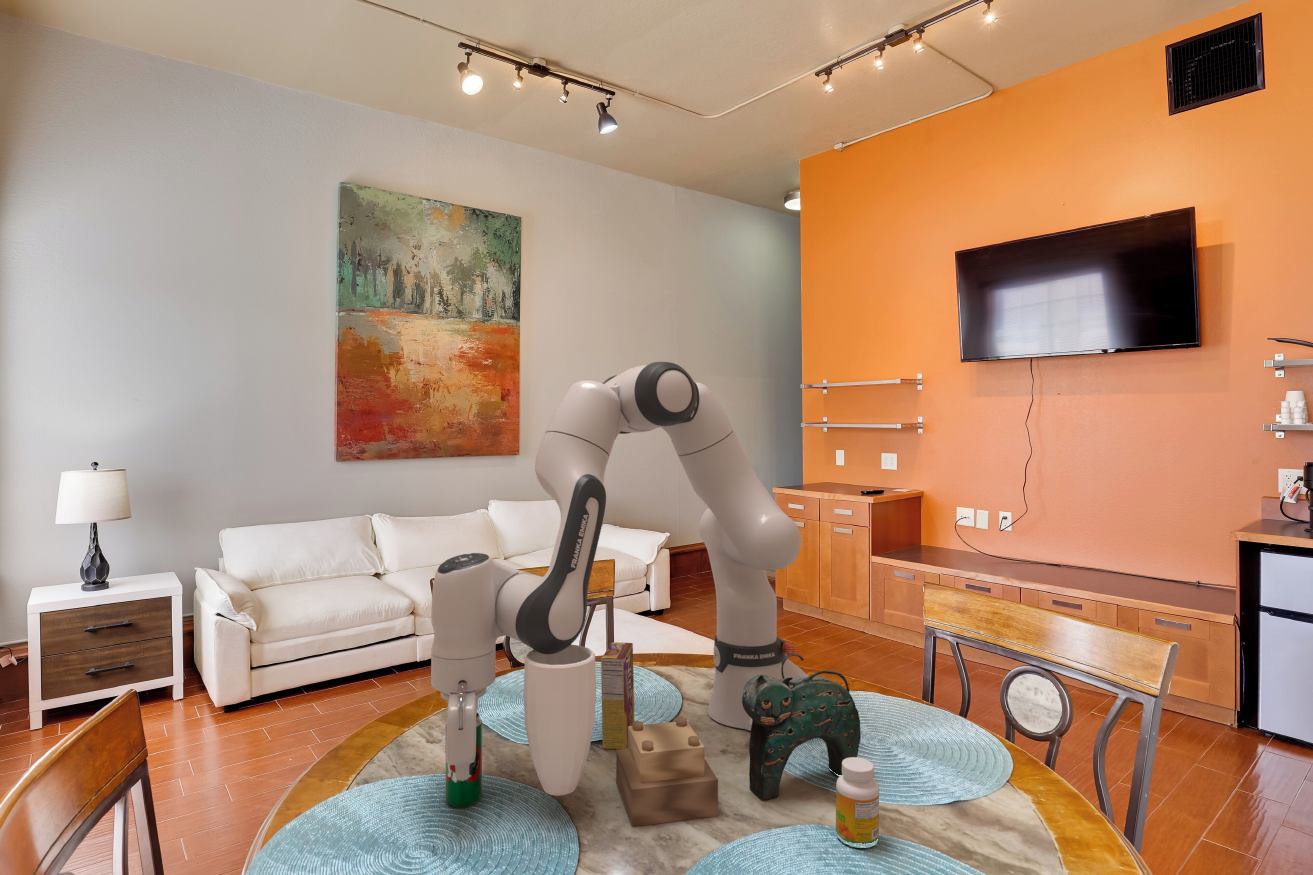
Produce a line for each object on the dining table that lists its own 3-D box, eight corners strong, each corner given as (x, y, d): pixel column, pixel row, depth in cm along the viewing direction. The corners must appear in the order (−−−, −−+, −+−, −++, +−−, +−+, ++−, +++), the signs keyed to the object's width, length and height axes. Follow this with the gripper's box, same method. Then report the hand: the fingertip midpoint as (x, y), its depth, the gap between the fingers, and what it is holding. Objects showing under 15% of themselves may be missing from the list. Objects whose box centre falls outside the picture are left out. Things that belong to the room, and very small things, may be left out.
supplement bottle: (829, 827, 95) (830, 754, 95) (869, 825, 95) (869, 753, 95) (843, 851, 90) (844, 774, 89) (885, 849, 90) (886, 773, 90)
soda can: (487, 791, 104) (487, 709, 104) (474, 810, 99) (475, 724, 98) (453, 789, 104) (453, 708, 104) (439, 808, 99) (439, 722, 99)
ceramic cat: (756, 808, 100) (757, 665, 99) (732, 786, 106) (733, 652, 105) (867, 778, 108) (868, 647, 108) (839, 760, 114) (840, 636, 114)
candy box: (611, 726, 126) (611, 641, 126) (635, 728, 126) (635, 642, 126) (600, 748, 118) (600, 657, 117) (625, 750, 117) (626, 658, 117)
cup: (565, 837, 92) (565, 672, 92) (506, 814, 98) (506, 658, 97) (612, 801, 101) (612, 650, 101) (555, 782, 107) (555, 638, 106)
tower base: (693, 774, 109) (693, 710, 109) (717, 815, 98) (718, 744, 97) (616, 782, 106) (616, 717, 106) (631, 826, 95) (632, 753, 95)
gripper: (486, 694, 92) (485, 801, 92) (486, 647, 112) (486, 734, 112) (435, 698, 90) (434, 807, 90) (444, 649, 110) (444, 738, 110)
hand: (463, 766), depth 101 cm, fingers closed on soda can, 5 cm apart
